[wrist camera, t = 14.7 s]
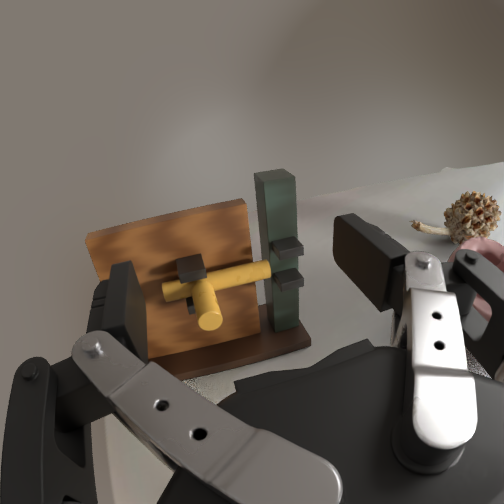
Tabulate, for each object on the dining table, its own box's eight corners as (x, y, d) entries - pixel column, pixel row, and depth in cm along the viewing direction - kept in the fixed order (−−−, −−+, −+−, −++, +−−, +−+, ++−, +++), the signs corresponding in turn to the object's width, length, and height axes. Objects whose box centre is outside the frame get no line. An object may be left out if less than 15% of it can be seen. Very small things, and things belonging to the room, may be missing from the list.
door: (141, 388, 31) (69, 236, 22) (139, 340, 38) (88, 202, 28) (311, 345, 35) (313, 183, 25) (286, 304, 42) (279, 161, 32)
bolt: (171, 340, 24) (164, 322, 23) (166, 295, 30) (161, 278, 28) (288, 310, 26) (288, 292, 25) (266, 272, 31) (264, 254, 30)
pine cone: (472, 225, 55) (480, 181, 50) (502, 246, 47) (513, 200, 42) (395, 242, 52) (401, 190, 47) (426, 271, 44) (438, 213, 39)
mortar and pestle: (458, 363, 29) (493, 284, 23) (418, 300, 39) (434, 226, 33) (520, 338, 29) (553, 266, 23) (478, 287, 39) (497, 219, 33)
